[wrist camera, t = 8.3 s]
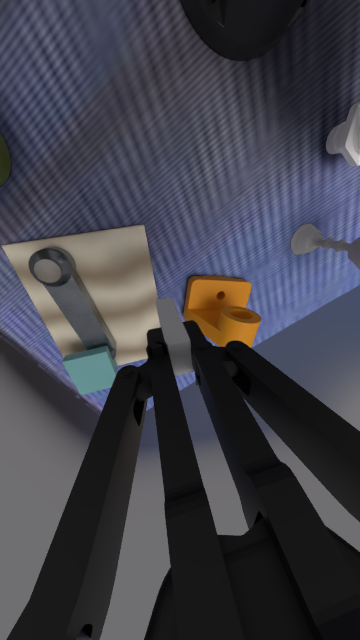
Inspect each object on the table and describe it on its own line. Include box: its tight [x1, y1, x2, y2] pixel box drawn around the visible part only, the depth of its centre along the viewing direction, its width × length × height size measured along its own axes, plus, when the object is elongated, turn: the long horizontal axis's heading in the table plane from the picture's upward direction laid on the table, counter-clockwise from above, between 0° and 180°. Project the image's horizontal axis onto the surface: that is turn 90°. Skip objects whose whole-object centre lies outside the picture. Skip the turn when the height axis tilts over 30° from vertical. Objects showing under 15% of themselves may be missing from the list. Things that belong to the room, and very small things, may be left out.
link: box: [28, 246, 116, 359], centre depth 28 cm, size 18×4×2 cm, turn 15°
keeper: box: [62, 346, 118, 395], centre depth 31 cm, size 7×6×5 cm
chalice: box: [291, 224, 360, 269], centre depth 26 cm, size 7×7×18 cm
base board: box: [2, 224, 160, 365], centre depth 29 cm, size 22×17×5 cm
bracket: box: [183, 275, 261, 348], centre depth 30 cm, size 11×7×12 cm, turn 82°
